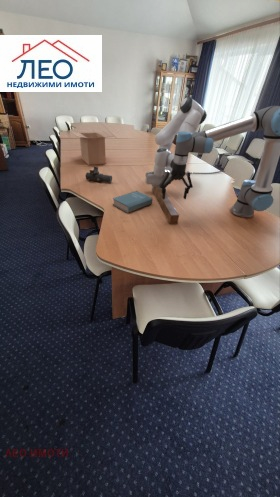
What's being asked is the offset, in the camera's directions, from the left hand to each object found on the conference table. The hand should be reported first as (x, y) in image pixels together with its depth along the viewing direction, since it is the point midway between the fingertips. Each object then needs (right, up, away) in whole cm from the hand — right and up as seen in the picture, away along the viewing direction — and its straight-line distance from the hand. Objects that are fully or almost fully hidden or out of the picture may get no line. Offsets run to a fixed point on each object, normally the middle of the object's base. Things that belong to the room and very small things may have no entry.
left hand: (157, 189), depth 176 cm
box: (-64, +46, +61) cm, 100 cm away
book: (-19, -16, -19) cm, 32 cm away
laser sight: (-50, +11, +14) cm, 53 cm away
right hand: (+7, -17, -40) cm, 44 cm away
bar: (+3, -15, -15) cm, 21 cm away
